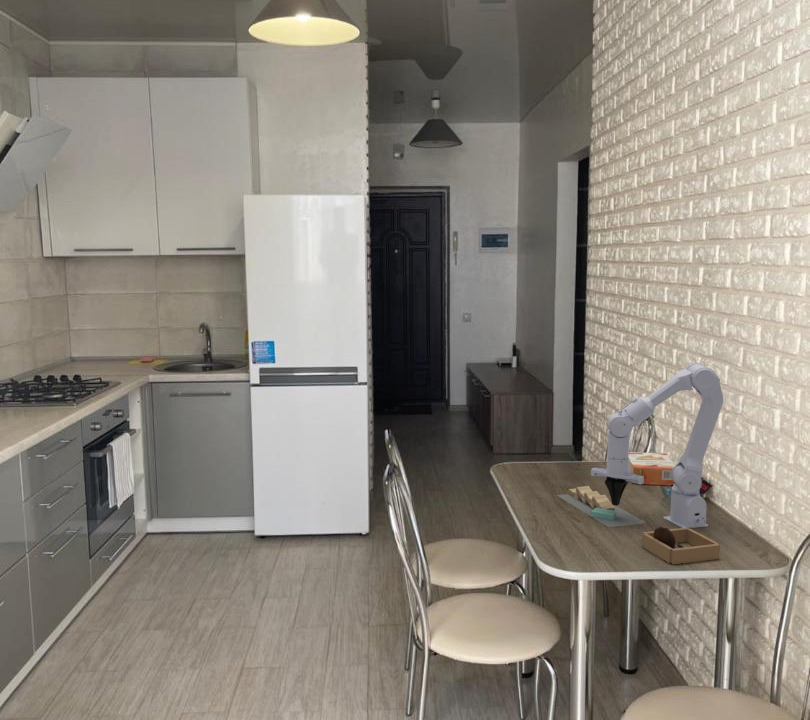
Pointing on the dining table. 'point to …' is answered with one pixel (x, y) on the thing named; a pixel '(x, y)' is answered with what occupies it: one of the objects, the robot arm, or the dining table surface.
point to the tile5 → (574, 494)
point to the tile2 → (602, 502)
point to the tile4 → (582, 490)
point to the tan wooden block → (589, 496)
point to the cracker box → (651, 467)
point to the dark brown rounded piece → (666, 537)
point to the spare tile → (604, 514)
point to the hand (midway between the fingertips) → (615, 504)
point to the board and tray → (700, 551)
